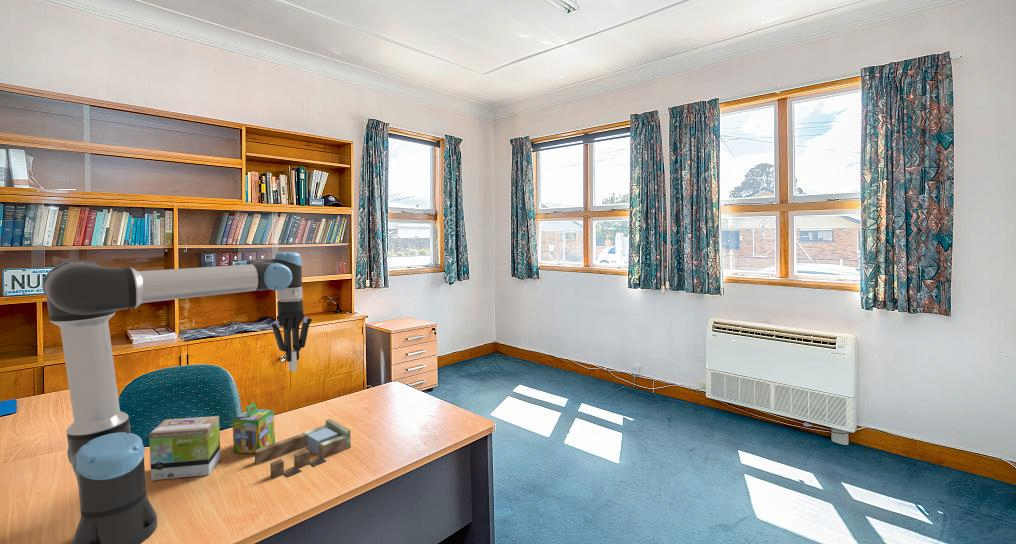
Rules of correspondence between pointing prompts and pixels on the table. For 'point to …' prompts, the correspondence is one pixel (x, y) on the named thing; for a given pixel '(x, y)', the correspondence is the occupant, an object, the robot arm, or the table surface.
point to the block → (319, 439)
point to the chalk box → (253, 429)
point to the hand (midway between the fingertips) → (293, 370)
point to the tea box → (184, 447)
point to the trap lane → (304, 456)
